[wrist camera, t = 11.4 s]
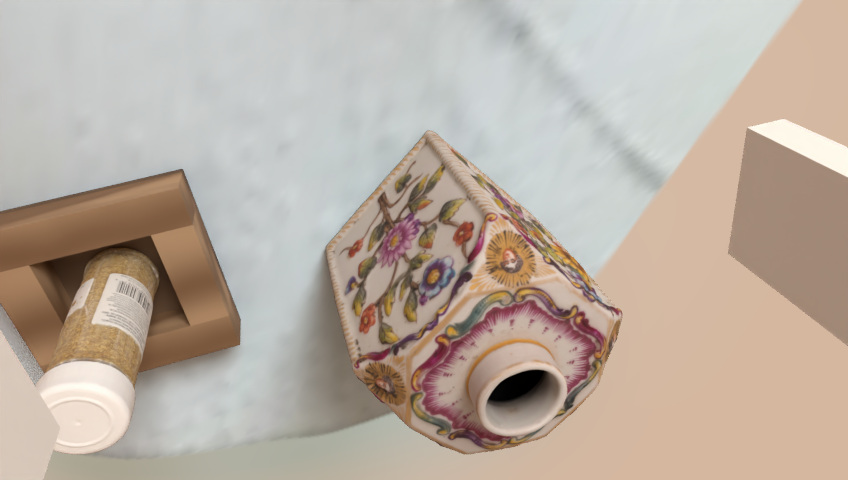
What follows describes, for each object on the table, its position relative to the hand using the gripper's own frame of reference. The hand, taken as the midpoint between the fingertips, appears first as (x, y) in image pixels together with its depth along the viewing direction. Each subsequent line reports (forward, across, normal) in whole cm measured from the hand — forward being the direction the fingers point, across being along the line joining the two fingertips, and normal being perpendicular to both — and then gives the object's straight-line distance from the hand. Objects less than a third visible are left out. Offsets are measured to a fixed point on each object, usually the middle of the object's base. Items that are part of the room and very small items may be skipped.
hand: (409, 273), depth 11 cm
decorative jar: (+30, +6, -17) cm, 35 cm away
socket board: (+30, -15, -15) cm, 36 cm away
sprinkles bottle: (+29, -15, -15) cm, 36 cm away
